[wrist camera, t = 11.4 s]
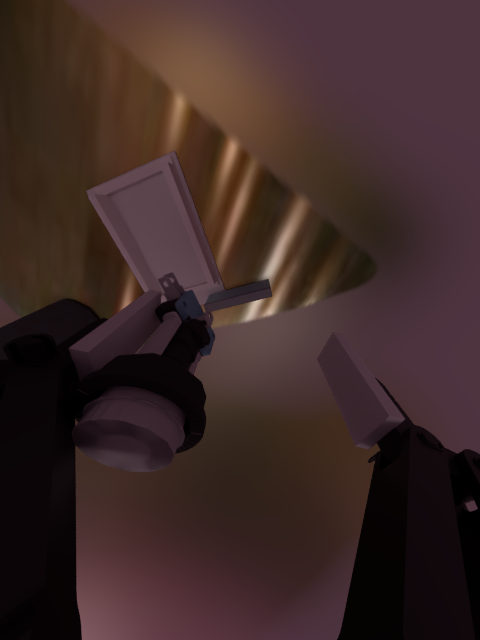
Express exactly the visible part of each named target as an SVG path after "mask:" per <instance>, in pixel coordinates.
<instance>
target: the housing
mask: <svg viewBox="0 0 480 640" xmlns="http://www.w3.org/2000/svg"><path fill="white" fill-rule="evenodd" d="M86 192H87V194H88V198H89V200H90V201H91V203H92V205H93V206H94V208H95V210H96V211H97V213H98V215H99V216H100V218H101V220H102V221H103V223H104V225H105V226H106V228H107V230H108V231H109V233H110V235H111V237H112V238H113V240H114V242H115V243H116V245H117V247H118V248H119V250H120V252H121V253H122V255H123V257H124V258H125V260H126V262H127V263H128V265H129V267H130V268H131V270H132V272H133V273H134V275H135V277H136V278H137V280H138V282H139V283H140V285H141V287H142V289H143V290H144V292H145V293H146V292H147V291H149V290H150V289H151V290H155V291H159V292H161V303H163V302H166V301H167V299H166V298H165V296H164V294H165V292H164V290H163V288H162V287H161V285H160V283H159V281H158V279H159V278H162V277H164V275H165V274H168V273H171V272H173V273H174V275H175V277H176V279H177V281H178V283H179V285H180V286H181V285H182V286H183V288H184V290H185V292H186V291H189V290H193V292H194V294H195V296H196V298H197V300H198V302H199V304H200V306H202V305H204V304H205V303H206V301H207V299H208V297H209V295H211V294H215V293H219V292H222V291H225V288H224V285H223V282H222V280H221V277H220V274H219V271H218V268H217V266H216V263H215V260H214V257H213V255H212V252H211V249H210V246H209V243H208V241H207V238H206V235H205V232H204V230H203V227H202V224H201V221H200V219H199V216H198V213H197V210H196V207H195V205H194V202H193V199H192V196H191V194H190V191H189V188H188V185H187V182H186V180H185V177H184V174H183V171H182V169H181V166H180V163H179V160H178V158H177V155H176V152H175V151H173V152H170V153H168V154H166V155H164V156H162V157H159V158H157V159H155V160H153V161H151V162H148V163H146V164H144V165H142V166H140V167H137V168H135V169H133V170H131V171H129V172H126V173H124V174H122V175H120V176H118V177H115V178H113V179H111V180H109V181H107V182H104V183H102V184H100V185H98V186H96V187H93V188H91V189H89V190H87V191H86ZM170 280H171V282H172V283H173V282H174V279H173V278H170ZM164 286H166V287H169V286H168V284H167V282H166V281H165V282H164Z"/></svg>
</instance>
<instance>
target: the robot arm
mask: <svg viewBox="0 0 480 640" xmlns="http://www.w3.org/2000/svg"><path fill="white" fill-rule="evenodd" d="M160 304H161V292H159V291H155V290H151V289H150V290H149V291H147V292H146V293H145V294H143V295H142V296H140V297H139V298H138V299H136V300H135V301H133V302H132V303H131V304H129V305H128V306H126V307H125V308H124V309H122V310H121V311H120V312H118V313H117V314H115V315H114V316H113V317H111V318H110V319H106V318H102V319H99V320H96V321H94V322H92V323H90V324H89V325H87V326H86V327H85V328H83V329H81V330H80V331H78V333H75V334H74V335H72V336H71V337H69V338H68V339H66V340H65V341H63V342H62V343H60V344H59V345H56V343H55V340H54V337H53V336H51V335H49V334H42V333H39V334H29V335H25V336H21V337H18V338H15V339H13V340H11V341H10V342H8V343H6V344H5V346H4V347H3V350H4V352H5V354H6V356H7V357H8V359H9V360H0V640H82V635H81V621H80V615H79V609H78V605H77V593H76V483H75V482H76V480H75V479H76V478H75V477H76V475H75V444H74V442H73V436H72V431H73V428H74V427H75V416H74V413H73V411H72V410H70V406H69V396H70V393H71V391H72V390H73V388H74V387H75V386H76V385H77V384H78V383H79V382H80V381H81V380H82V379H83V378H84V377H85V376H87V375H88V374H90V373H92V372H94V371H97V370H100V369H102V368H103V367H104V366H105V365H106V364H107V363H108V362H110V361H111V360H112V359H114V358H115V357H116V356H119V355H131V354H135V353H136V352H137V351H138V350H139V349H140V347H141V346H142V345H143V344H144V343H145V342H146V340H147V339H148V338H149V337H150V336H151V335H152V333H153V332H154V331H155V330H156V329H157V328H158V326H159V325H160V324H161V322H160V320H159V319H158V317H157V316H156V313H155V310H156V308H157V307H158V306H159V305H160ZM317 359H318V362H319V364H320V366H321V368H322V371H323V373H324V375H325V378H326V380H327V382H328V384H329V387H330V389H331V391H332V394H333V396H334V398H335V400H336V403H337V405H338V407H339V409H340V412H341V414H342V416H343V419H344V421H345V423H346V425H347V428H348V430H349V432H350V434H351V437H352V439H353V441H354V444H355V446H356V447H361V448H366V449H370V448H372V447H373V446H374V445H375V444H376V443H377V444H378V446H379V448H380V451H379V452H377V453H376V454H375V455H374V456H373V457H371V458H370V459H369V461H368V462H369V463H371V462H372V461H375V464H374V470H373V474H372V479H371V484H370V489H369V494H368V499H367V504H366V509H365V514H364V519H363V524H362V529H361V534H360V539H359V543H358V548H357V553H356V558H355V563H354V568H353V573H352V579H351V583H350V588H349V593H348V598H347V603H346V608H345V613H344V618H343V622H342V627H341V631H340V634H339V637H338V639H337V640H480V454H478V453H476V452H474V451H472V450H469V449H465V450H463V451H462V452H460V453H458V454H457V453H455V452H453V451H451V450H449V449H446V448H444V446H443V445H442V444H441V442H440V441H439V440H438V439H437V438H436V437H435V436H434V435H433V434H431V433H430V432H429V431H427V430H426V429H424V428H422V427H420V426H416V425H414V424H413V423H412V421H411V420H410V419H409V417H408V416H407V415H406V414H405V412H404V411H403V410H402V408H401V407H400V406H399V404H398V403H397V402H396V401H395V399H394V398H393V396H392V395H390V393H389V391H388V390H387V389H386V387H385V386H384V385H383V384H382V383H381V382H380V381H379V380H377V379H376V378H375V377H374V376H373V375H372V373H371V372H370V371H369V369H368V368H367V367H366V365H365V364H364V363H363V361H362V360H361V359H360V357H359V356H358V354H357V353H356V352H355V350H354V349H353V348H352V346H351V345H350V344H349V342H348V341H347V340H346V338H345V337H344V336H343V334H339V333H335V332H333V333H332V335H331V337H330V338H329V340H328V341H327V343H326V345H325V347H324V348H323V350H322V351H321V353H320V355H319V357H318V358H317ZM473 500H474V501H475V503H476V505H477V507H478V509H477V510H475V511H472V512H469V511H468V509H467V507H466V505H465V503H467V502H470V501H473Z"/></svg>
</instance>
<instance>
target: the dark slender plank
mask: <svg viewBox="0 0 480 640" xmlns="http://www.w3.org/2000/svg"><path fill="white" fill-rule="evenodd" d="M268 297H272V292H271V288H270V284H269V279H267V280H263V281H259V282H256V283H252V284H248V285H245V286H241V287H237V288H233V289H230V290H226V291H222V292H219V293H215V294H211V295H209V297H208V299H207V301H206V303H205V304H204V307H205V310H206V309H207V308H209V309H210V311H215V310H219V309H223V308H228V307H232V306H236V305H240V304H244V303H248V302H252V301H256V300H260V299H264V298H268Z"/></svg>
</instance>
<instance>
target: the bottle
mask: <svg viewBox="0 0 480 640" xmlns="http://www.w3.org/2000/svg"><path fill="white" fill-rule="evenodd" d="M96 320H99V319H98V317H97V316H96V315H95V314H94V313H93V312H92V310H91V309H90V308H88V307H86V306H84V305H82V304H80V303H78V302H76V301H71V300H60V301H58V302H55V303H53V304H51V305H48V306H46V307H44V308H42V309H40V310H38V311H35V312H33V313H31V314H29V315H27V316H25V317H22V318H20V319H18V320H16V321H14V322H12V323H9V324H7V325H5V326H3V327H1V328H0V360H9V359H8V357H7V356H6V354H5V352H4V350H3V347H4V346H5V344H6V343H8V342H10V341H11V340H13V339H15V338H18V337H21V336H25V335H29V334H39V333H42V334H49V335H51V336H53V337H54V340H55V343H56V345H59V344H60V343H62V342H63V341H65V340H66V339H68V338H69V337H71V336H72V335H74V334H75V333H78V331H80V330H81V329H83V328H85V327H86V326H87V325H89V324H90V323H92V322H94V321H96Z"/></svg>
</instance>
